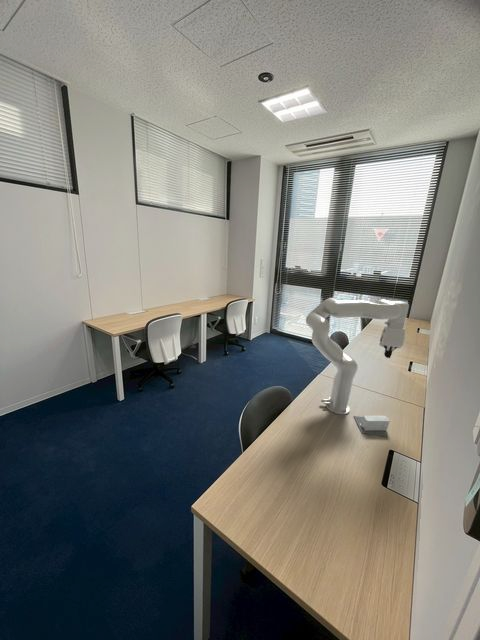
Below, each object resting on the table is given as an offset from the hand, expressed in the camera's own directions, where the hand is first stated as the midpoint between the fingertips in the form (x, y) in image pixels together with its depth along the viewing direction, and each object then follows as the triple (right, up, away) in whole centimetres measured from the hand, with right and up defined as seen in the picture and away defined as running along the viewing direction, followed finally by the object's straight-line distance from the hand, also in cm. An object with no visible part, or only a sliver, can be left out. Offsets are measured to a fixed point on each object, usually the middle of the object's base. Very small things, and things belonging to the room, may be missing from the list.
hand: (387, 356), depth 141 cm
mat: (-13, -35, -7) cm, 38 cm away
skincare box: (-5, -33, -9) cm, 34 cm away
